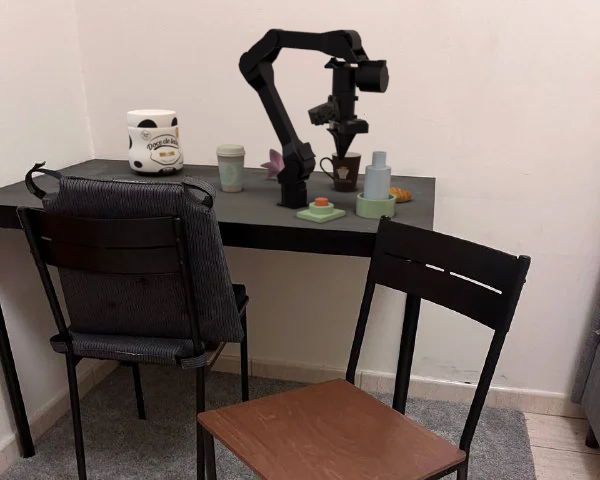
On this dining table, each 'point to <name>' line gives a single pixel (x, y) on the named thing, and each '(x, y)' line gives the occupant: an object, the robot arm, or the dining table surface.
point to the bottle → (377, 178)
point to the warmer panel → (320, 213)
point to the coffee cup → (231, 166)
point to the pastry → (400, 194)
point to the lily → (274, 163)
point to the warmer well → (375, 207)
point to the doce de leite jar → (154, 142)
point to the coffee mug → (344, 171)
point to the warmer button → (321, 202)
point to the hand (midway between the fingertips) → (340, 159)
